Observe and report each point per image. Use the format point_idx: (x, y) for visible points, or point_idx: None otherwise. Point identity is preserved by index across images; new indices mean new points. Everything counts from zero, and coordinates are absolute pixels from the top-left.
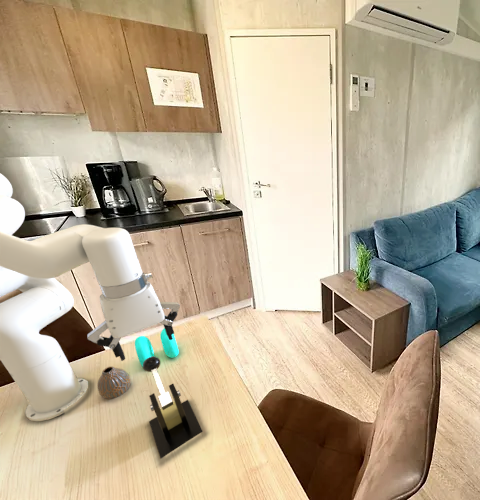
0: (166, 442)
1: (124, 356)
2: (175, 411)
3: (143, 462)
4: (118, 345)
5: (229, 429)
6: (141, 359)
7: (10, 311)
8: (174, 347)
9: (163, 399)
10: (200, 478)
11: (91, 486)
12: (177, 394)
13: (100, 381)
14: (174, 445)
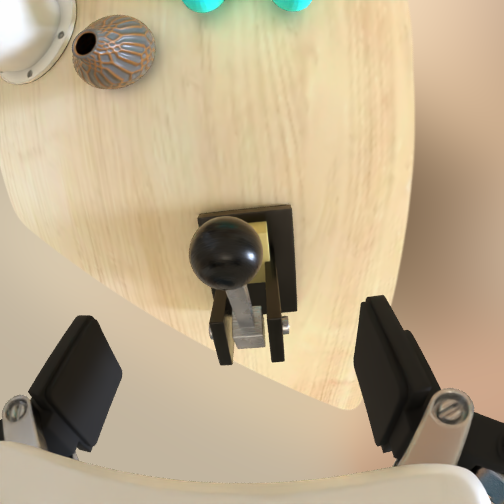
0: None
1: (114, 369)
2: (260, 267)
3: (188, 292)
4: (80, 439)
5: (338, 318)
6: (188, 3)
7: None
8: (305, 2)
9: (245, 343)
10: (269, 361)
11: (115, 282)
12: (282, 359)
13: (75, 64)
14: None
